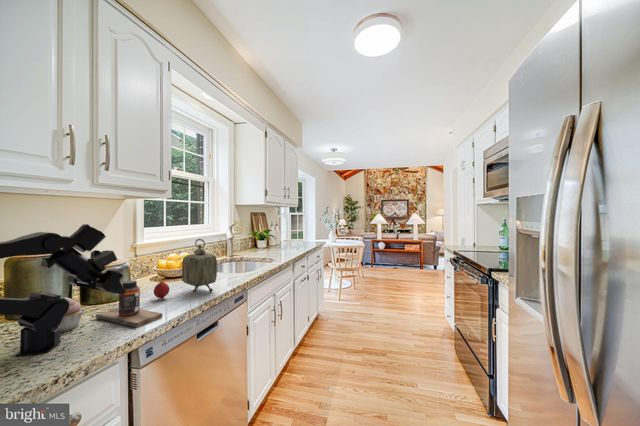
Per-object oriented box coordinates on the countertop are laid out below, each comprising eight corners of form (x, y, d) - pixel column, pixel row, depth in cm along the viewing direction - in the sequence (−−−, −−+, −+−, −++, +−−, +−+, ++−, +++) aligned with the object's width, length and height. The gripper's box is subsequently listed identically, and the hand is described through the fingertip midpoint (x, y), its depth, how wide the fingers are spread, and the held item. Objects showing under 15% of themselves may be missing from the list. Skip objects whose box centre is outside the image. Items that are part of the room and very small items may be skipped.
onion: (161, 301, 110) (162, 282, 110) (150, 300, 111) (150, 281, 111) (172, 297, 116) (172, 279, 116) (160, 296, 117) (161, 278, 117)
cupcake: (54, 324, 86) (54, 294, 86) (89, 321, 89) (90, 291, 89) (35, 337, 77) (36, 303, 77) (75, 332, 81) (76, 299, 81)
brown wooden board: (134, 328, 84) (134, 323, 84) (95, 318, 91) (95, 314, 91) (162, 317, 93) (162, 313, 93) (124, 309, 100) (124, 305, 100)
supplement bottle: (142, 313, 93) (143, 281, 93) (123, 318, 88) (123, 284, 88) (134, 309, 96) (135, 278, 96) (115, 314, 91) (116, 282, 91)
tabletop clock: (216, 291, 125) (217, 239, 125) (199, 296, 117) (200, 240, 117) (197, 287, 132) (198, 237, 133) (180, 291, 124) (181, 238, 125)
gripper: (117, 244, 80) (151, 273, 90) (80, 241, 86) (116, 269, 97) (85, 275, 72) (126, 303, 82) (48, 270, 79) (90, 296, 89)
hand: (115, 291), depth 88 cm, fingers open, 9 cm apart
